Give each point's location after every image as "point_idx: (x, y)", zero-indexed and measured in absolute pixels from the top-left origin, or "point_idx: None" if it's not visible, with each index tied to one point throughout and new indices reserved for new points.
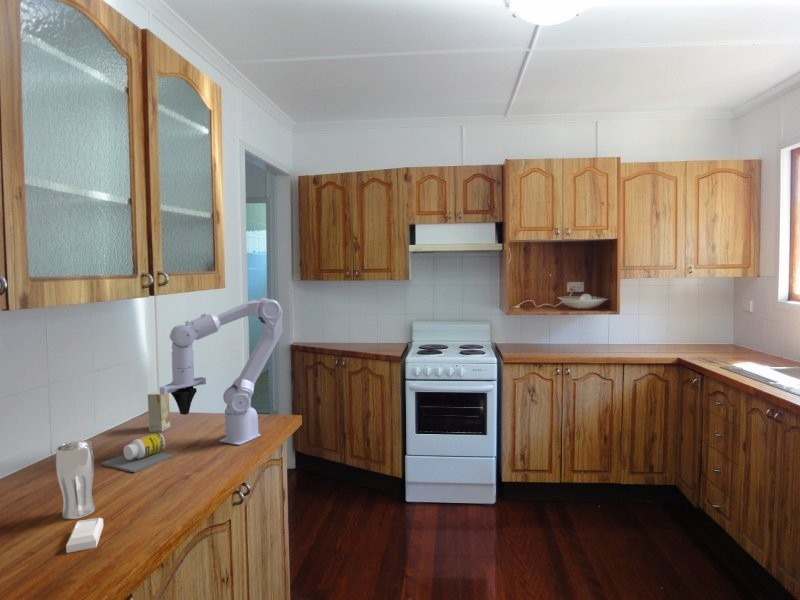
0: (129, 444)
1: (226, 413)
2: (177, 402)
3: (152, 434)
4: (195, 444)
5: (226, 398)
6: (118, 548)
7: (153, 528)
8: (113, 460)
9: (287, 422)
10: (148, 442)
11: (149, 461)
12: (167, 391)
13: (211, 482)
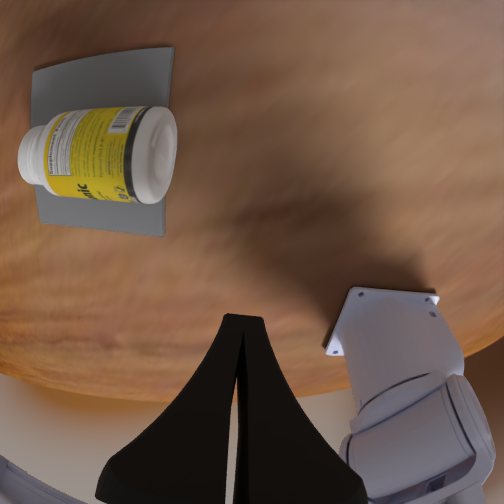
0: (23, 159)
1: (378, 394)
2: (191, 390)
3: (104, 169)
4: (311, 219)
5: (406, 445)
6: (4, 357)
7: (29, 369)
8: (51, 84)
9: (487, 337)
10: (75, 196)
11: (91, 206)
12: (27, 487)
13: (125, 385)
